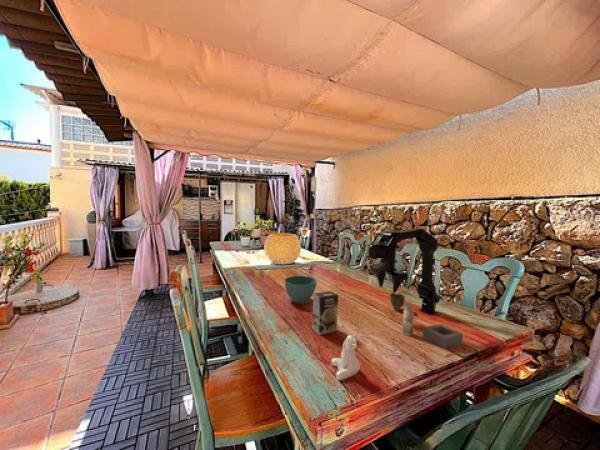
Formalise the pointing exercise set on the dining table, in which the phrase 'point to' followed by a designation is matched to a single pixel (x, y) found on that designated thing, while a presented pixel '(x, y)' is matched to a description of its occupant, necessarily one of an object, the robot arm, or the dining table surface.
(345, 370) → the sitting furry creature
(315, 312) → the coffee box
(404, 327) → the peg
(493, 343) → the dining table surface
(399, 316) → the dining table surface
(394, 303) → the cup
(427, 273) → the robot arm
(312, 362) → the dining table surface
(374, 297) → the dining table surface
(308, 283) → the plant pot
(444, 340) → the socket block
